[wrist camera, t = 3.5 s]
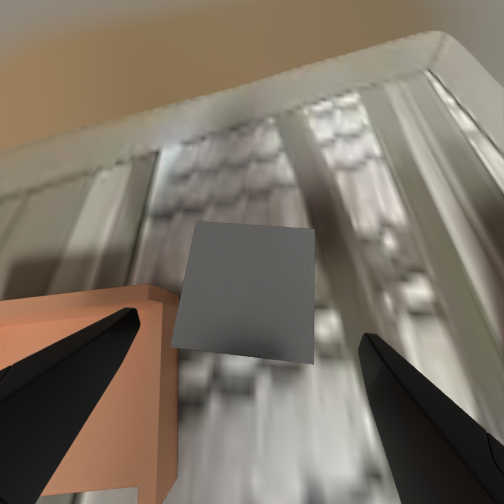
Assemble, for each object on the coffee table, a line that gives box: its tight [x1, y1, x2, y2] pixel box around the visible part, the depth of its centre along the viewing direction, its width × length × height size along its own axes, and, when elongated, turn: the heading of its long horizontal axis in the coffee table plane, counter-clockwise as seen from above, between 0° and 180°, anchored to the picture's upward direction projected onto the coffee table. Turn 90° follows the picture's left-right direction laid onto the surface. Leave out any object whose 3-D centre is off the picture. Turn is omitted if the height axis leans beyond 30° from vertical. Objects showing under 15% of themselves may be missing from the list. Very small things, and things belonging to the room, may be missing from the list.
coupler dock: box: [0, 283, 179, 504], centre depth 14 cm, size 12×16×5 cm
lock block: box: [170, 221, 315, 364], centre depth 13 cm, size 5×5×10 cm
